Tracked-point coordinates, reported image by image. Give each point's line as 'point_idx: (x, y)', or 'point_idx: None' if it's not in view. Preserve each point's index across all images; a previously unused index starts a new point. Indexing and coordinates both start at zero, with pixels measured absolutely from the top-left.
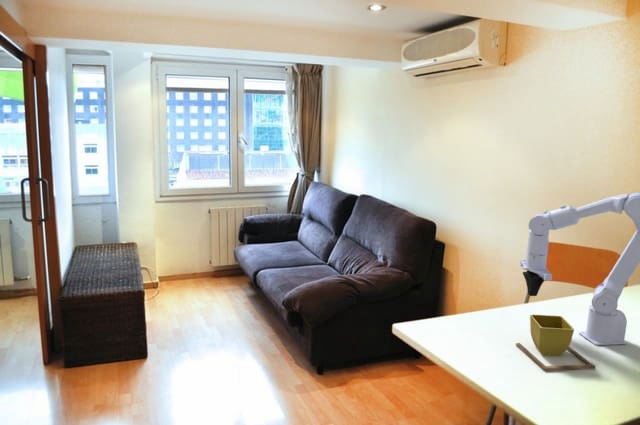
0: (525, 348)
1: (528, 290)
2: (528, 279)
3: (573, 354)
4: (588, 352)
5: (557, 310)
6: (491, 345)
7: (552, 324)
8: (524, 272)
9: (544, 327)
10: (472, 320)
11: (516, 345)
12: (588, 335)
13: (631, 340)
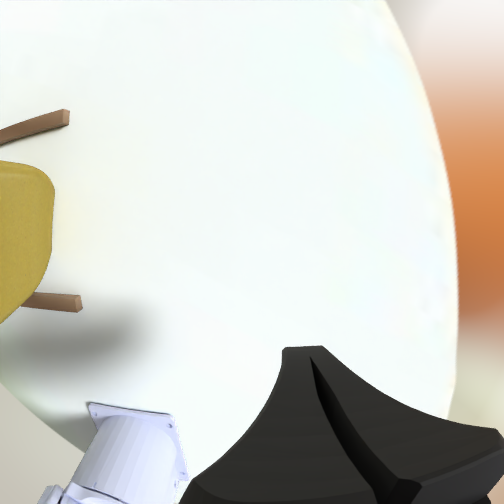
0: (28, 131)
1: (319, 361)
2: (323, 448)
3: None
4: (44, 350)
5: None
6: (89, 25)
7: (7, 278)
8: (486, 471)
9: (16, 236)
10: (332, 24)
11: (65, 111)
12: (125, 420)
13: None
